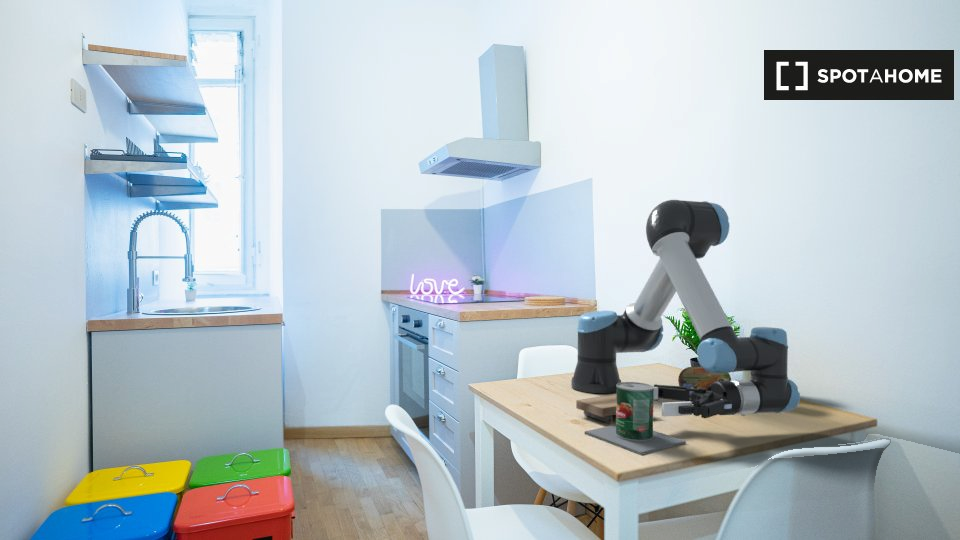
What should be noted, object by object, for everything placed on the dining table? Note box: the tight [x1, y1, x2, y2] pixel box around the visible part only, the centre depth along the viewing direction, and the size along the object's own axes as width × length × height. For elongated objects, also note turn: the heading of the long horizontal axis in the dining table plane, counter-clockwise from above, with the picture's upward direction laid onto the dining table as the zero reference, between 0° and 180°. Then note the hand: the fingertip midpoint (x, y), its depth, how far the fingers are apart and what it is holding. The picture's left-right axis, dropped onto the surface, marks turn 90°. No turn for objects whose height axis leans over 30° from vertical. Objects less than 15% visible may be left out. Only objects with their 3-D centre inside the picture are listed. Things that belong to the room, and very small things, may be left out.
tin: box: [677, 366, 732, 390], centre depth 163 cm, size 15×3×8 cm, turn 91°
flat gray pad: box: [584, 424, 687, 456], centre depth 121 cm, size 16×14×1 cm
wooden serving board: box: [575, 393, 617, 424], centre depth 138 cm, size 9×16×4 cm, turn 123°
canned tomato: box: [615, 381, 654, 442], centre depth 121 cm, size 8×8×11 cm
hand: (646, 401), depth 121 cm, fingers open, 13 cm apart
